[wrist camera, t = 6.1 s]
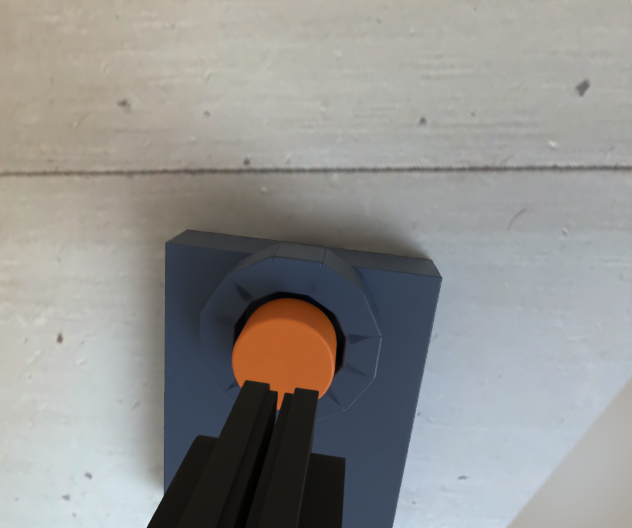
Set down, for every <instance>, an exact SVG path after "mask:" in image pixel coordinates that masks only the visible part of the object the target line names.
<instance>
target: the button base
mask: <svg viewBox="0 0 632 528" xmlns="http://www.w3.org/2000/svg"><path fill="white" fill-rule="evenodd" d="M441 282H442V276H441V275H440V273H439V271H438V270H437V268H436V266H435V264H434V263H433V261H432V260H427V259H419V258H411V257H403V256H395V255H387V254H379V253H371V252H363V251H354V250H346V249H338V248H330V247H322V246H314V245H306V244H298V243H290V242H282V241H274V240H266V239H257V238H249V237H241V236H233V235H225V234H217V233H209V232H201V231H193V230H186V231H184V232H182V233H181V234H179V235H178V236H176V237H174V238H173V239H171V240H169V241H168V242H166V244H165V391H164V495H165V493H166V491H167V489H168V487H169V485H170V483H171V482H172V480H173V478H174V476H175V474H176V472H177V470H178V469H179V467H180V465H181V463H182V461H183V459H184V457H185V456H186V454H187V452H188V450H189V448H190V446H191V444H192V443H193V441H194V439H195V438H196V436H198V435H205V436H211V437H218V438H219V435H220V433H221V431H222V429H223V427H224V425H225V422H226V420H227V418H228V416H229V414H230V412H231V410H232V407H233V405H234V403H235V401H236V399H237V397H238V394H239V392H240V390H241V387H240V386H239V384H238V382H237V380H236V378H235V376H234V372H233V368H232V352H233V348H234V345H235V343H236V341H237V339H238V337H239V335H240V334H241V332H242V330H243V328H244V326H245V325H246V323H247V321H248V319H249V318H250V316H251V315H252V314H253V313H254V311H255V310H257V309H258V308H259V307H260V306H262V305H263V304H265V303H267V302H269V301H272V300H275V299H281V298H294V299H299V300H303V301H306V302H308V303H310V304H312V305H314V306H316V307H317V308H318V309H320V310H321V311H322V312H323V313H324V314H325V315H326V316H327V317H328V319H329V320H330V322H331V324H332V325H333V328H334V330H335V334H336V340H337V346H336V359H335V371H334V376H333V380H332V382H331V384H330V386H329V388H328V390H327V391H326V392H325V394H324V395H323V396H322V397H321V398H319V399H318V405H317V414H316V422H315V430H314V438H313V446H312V453H318V454H324V455H330V456H337V457H343V458H346V465H345V483H344V501H343V518H342V528H392V527H393V522H394V517H395V512H396V507H397V502H398V497H399V492H400V487H401V482H402V477H403V472H404V467H405V462H406V457H407V452H408V447H409V442H410V437H411V432H412V427H413V422H414V417H415V412H416V407H417V402H418V397H419V392H420V387H421V382H422V377H423V372H424V367H425V362H426V357H427V352H428V347H429V342H430V337H431V332H432V327H433V322H434V317H435V312H436V307H437V302H438V297H439V292H440V287H441ZM279 411H280V410H277V413H276V421H277V417H278V414H279Z"/></svg>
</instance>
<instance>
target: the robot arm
mask: <svg viewBox="0 0 632 528" xmlns="http://www.w3.org/2000/svg"><path fill="white" fill-rule="evenodd" d="M318 397H319V391H317V390H310V389H304V388H297V387H296V388H295V390H294V394H292V393H286V392H285V394H284V397H283V400H282V404H281V407H280V411H279V414H278V417H277V421H276V413H277V402H278V391H273V390H270V383H264V382H257V381H250V380H245V382H244V384H243V386H242V388H241V390H240V392H239V394H238V397H237V399H236V401H235V403H234V405H233V407H232V410H231V412H230V414H229V416H228V418H227V420H226V422H225V425H224V427H223V429H222V431H221V433H220V435H219V438H218V437H211V436H205V435H198V436H196V438H195V439H194V441H193V443H192V444H191V446H190V448H189V450H188V452H187V454H186V456H185V457H184V459H183V461H182V463H181V465H180V467H179V469H178V470H177V472H176V474H175V476H174V478H173V480H172V482H171V483H170V485H169V487H168V489H167V491H166V493H165V495H164V496H163V498H162V500H161V502H160V504H159V506H158V508H157V509H156V511H155V513H154V515H153V517H152V519H151V521H150V523H149V524H148V526H147V528H342V518H343V501H344V483H345V465H346V458H343V457H337V456H330V455H324V454H318V453H312V446H313V438H314V430H315V422H316V414H317V405H318Z"/></svg>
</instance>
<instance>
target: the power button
mask: <svg viewBox="0 0 632 528" xmlns="http://www.w3.org/2000/svg"><path fill="white" fill-rule="evenodd" d="M336 346H337V340H336V334H335V330H334V328H333V325H332V324H331V322H330V320H329V319H328V317H327V316H326V315H325V314H324V313H323V312H322V311H321V310H320V309H318V308H317V307H316V306H314V305H312V304H310V303H308V302H306V301H303V300H299V299H294V298H281V299H275V300H272V301H269V302H267V303H265V304H263V305H262V306H260V307H259V308H258V309H257V310H255V311H254V313H253V314H252V315H251V316H250V318H249V319H248V321H247V323H246V325H245V326H244V328H243V330H242V332H241V334H240V335H239V337H238V339H237V341H236V343H235V345H234V348H233V352H232V368H233V372H234V376H235V378H236V380H237V382H238V384H239V386H240V387H241V388H242V386H243V384H244V382H245V380H250V381H257V382H264V383H270V390H273V391H278V402H277V410H280V407H281V404H282V400H283V397H284V394H285V392H286V393H292V394H294V390H295V388H296V387H297V388H304V389H310V390H317V391H319V397H318V399H319V398H321V397H322V396H323V395H324V394H325V392H326V391H327V390H328V388H329V386H330V384H331V382H332V380H333V376H334V371H335V359H336Z"/></svg>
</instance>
